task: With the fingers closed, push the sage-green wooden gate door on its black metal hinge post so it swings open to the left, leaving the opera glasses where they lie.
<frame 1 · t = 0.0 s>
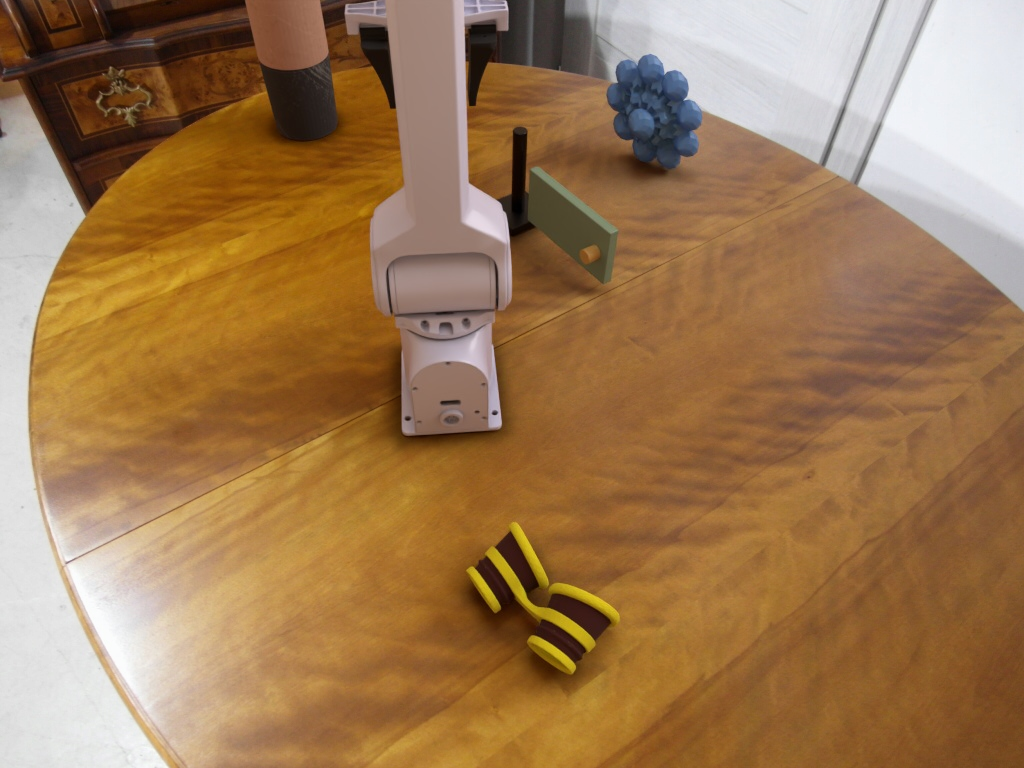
hand: (432, 102, 76), 10 cm above the table, tool pointing down, fingers open, 7 cm apart
travel mug: (307, 126, 92), on the table
opera glasses: (537, 613, 53), on the table
grapes: (640, 166, 88), on the table
gate door: (564, 227, 73), point 4 cm above the table, hinge at 0.0°
hinge post: (527, 225, 80), on the table
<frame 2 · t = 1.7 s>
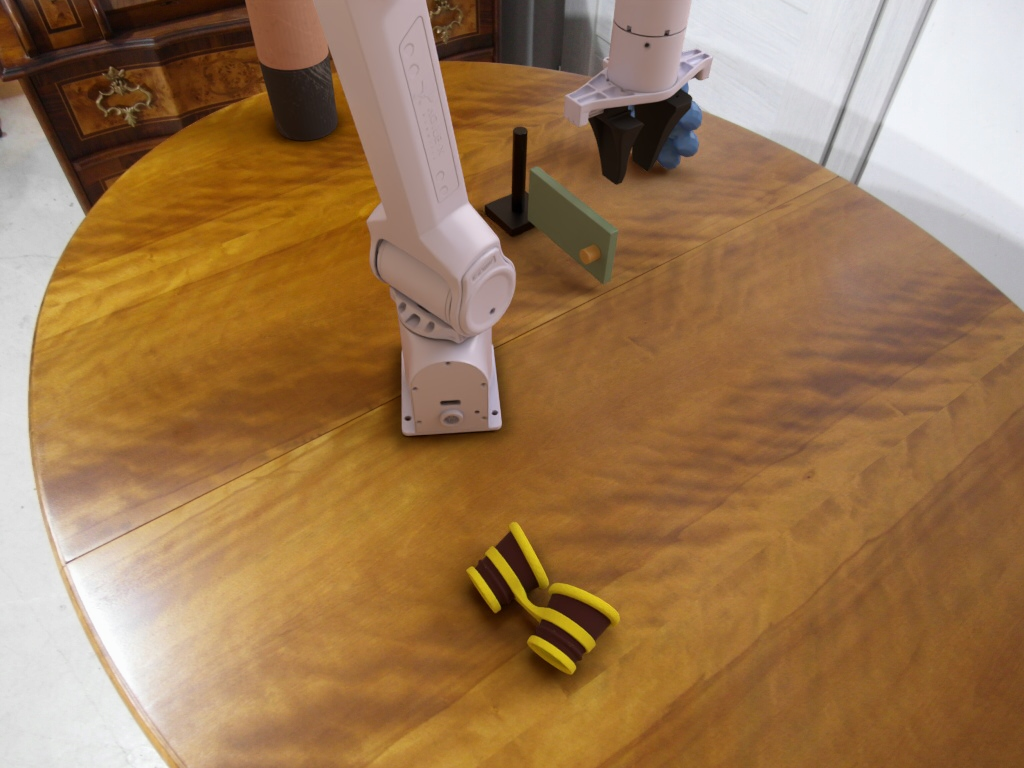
hand: (627, 172, 70), 9 cm above the table, tool pointing down, fingers open, 3 cm apart
nothing on the table moved.
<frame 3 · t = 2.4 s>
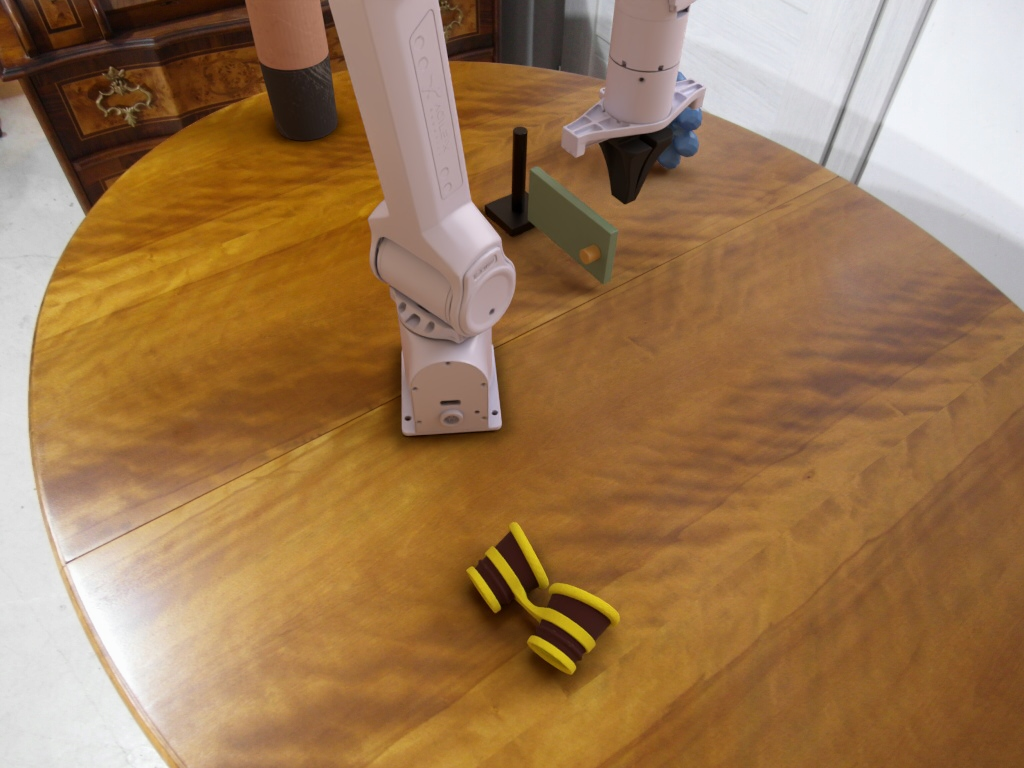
hand: (623, 197, 72), 7 cm above the table, tool pointing down, fingers closed
nothing on the table moved.
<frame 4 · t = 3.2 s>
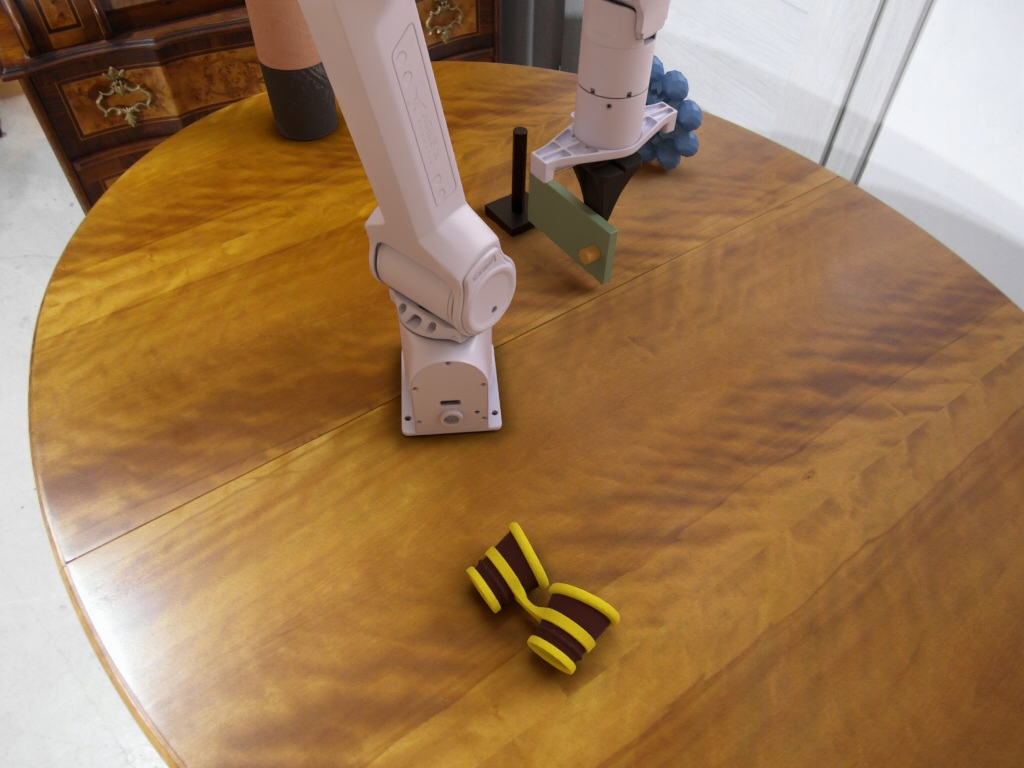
hand: (596, 219, 72), 5 cm above the table, tool pointing down, fingers closed
gate door: (563, 227, 73), point 4 cm above the table, hinge at 0.2°, touching gripper
everything else where it was.
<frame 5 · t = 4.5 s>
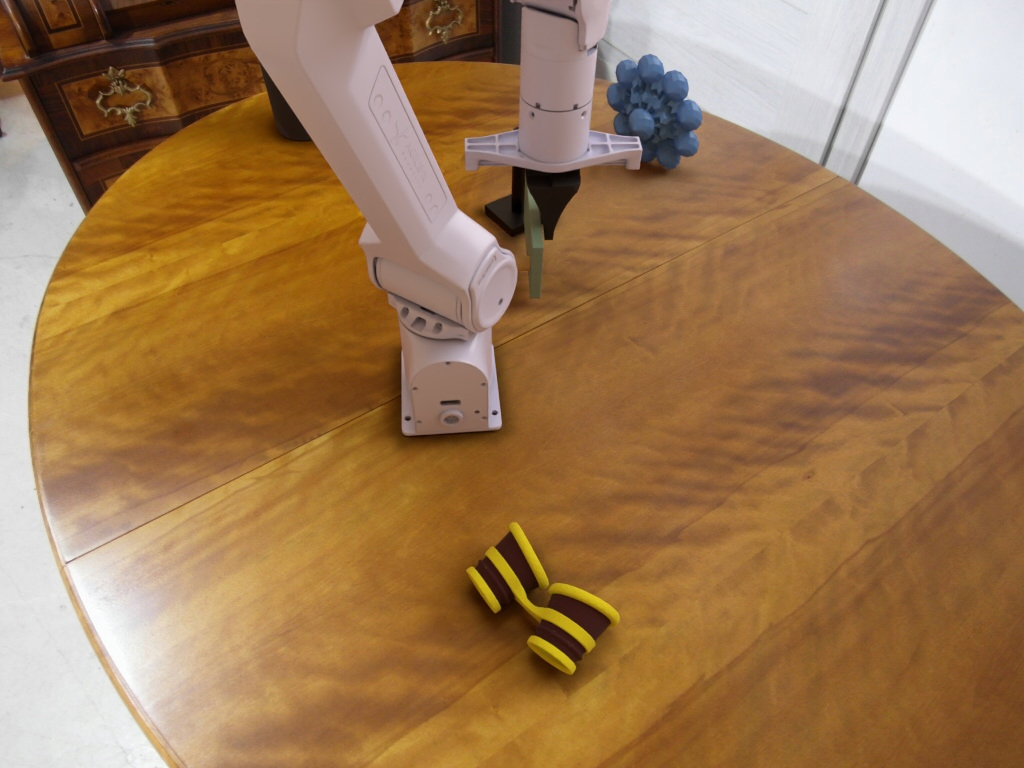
hand: (547, 233, 70), 5 cm above the table, tool pointing down, fingers closed
gate door: (525, 232, 73), point 4 cm above the table, hinge at 33.4°, touching gripper
everything else where it was.
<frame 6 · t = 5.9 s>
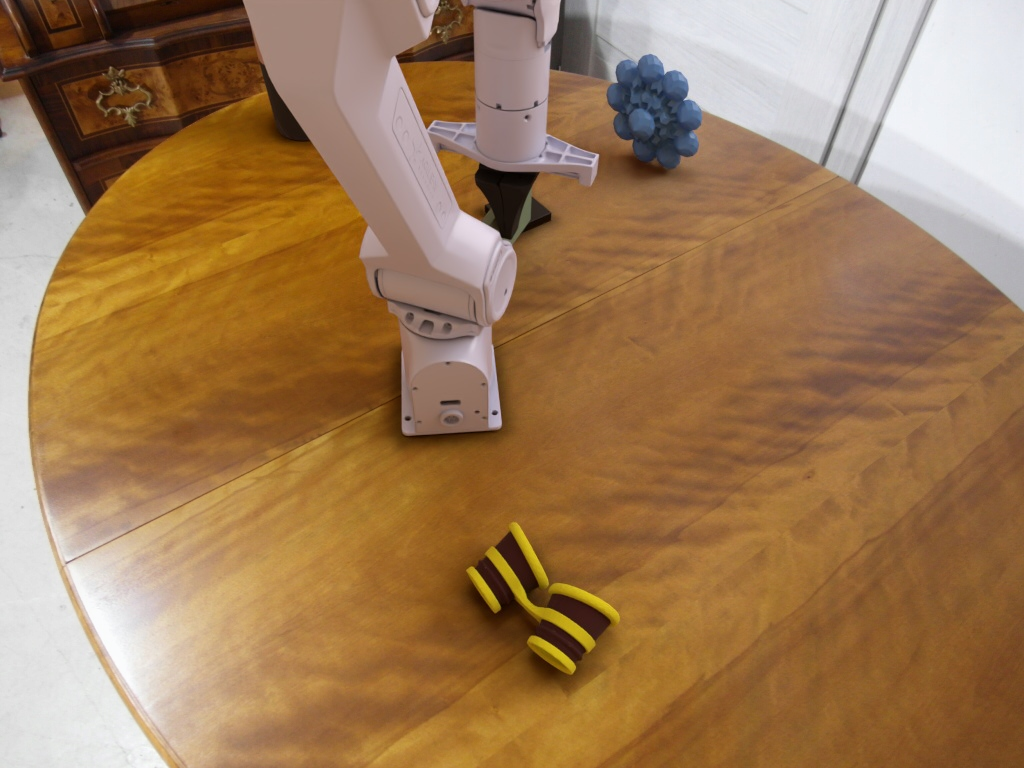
hand: (509, 232, 70), 5 cm above the table, tool pointing down, fingers closed
gate door: (495, 225, 73), point 4 cm above the table, hinge at 59.8°, touching gripper
everything else where it was.
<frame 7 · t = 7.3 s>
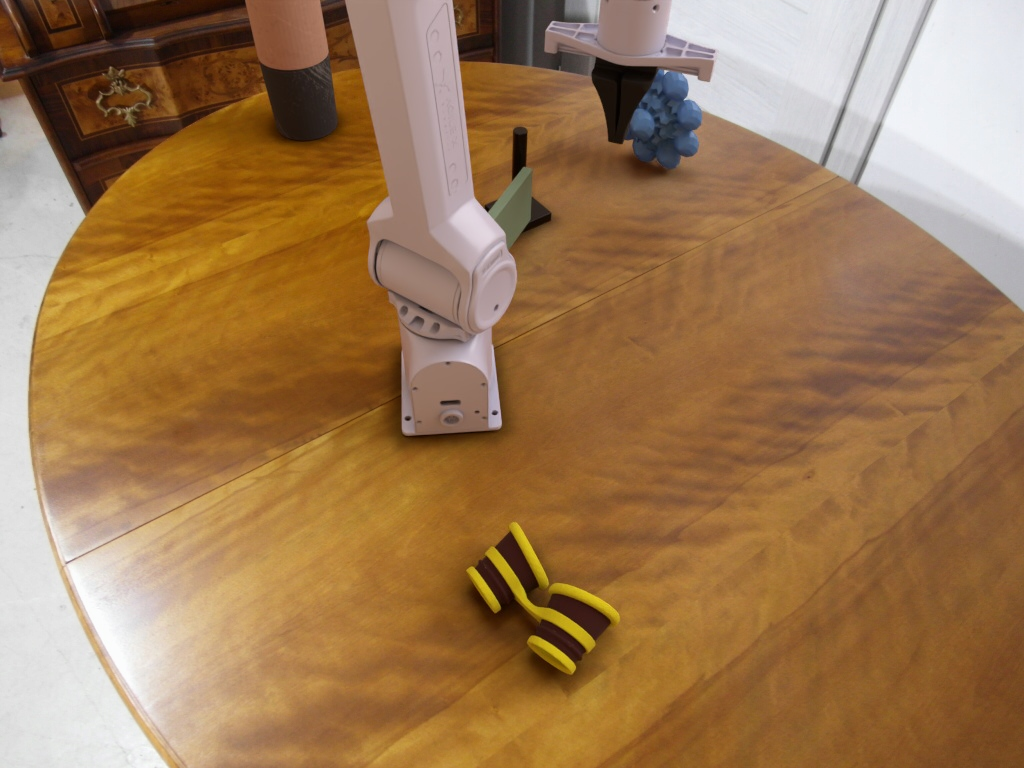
hand: (617, 137, 72), 10 cm above the table, tool pointing down, fingers closed
gate door: (495, 225, 73), point 4 cm above the table, hinge at 59.8°
everything else where it was.
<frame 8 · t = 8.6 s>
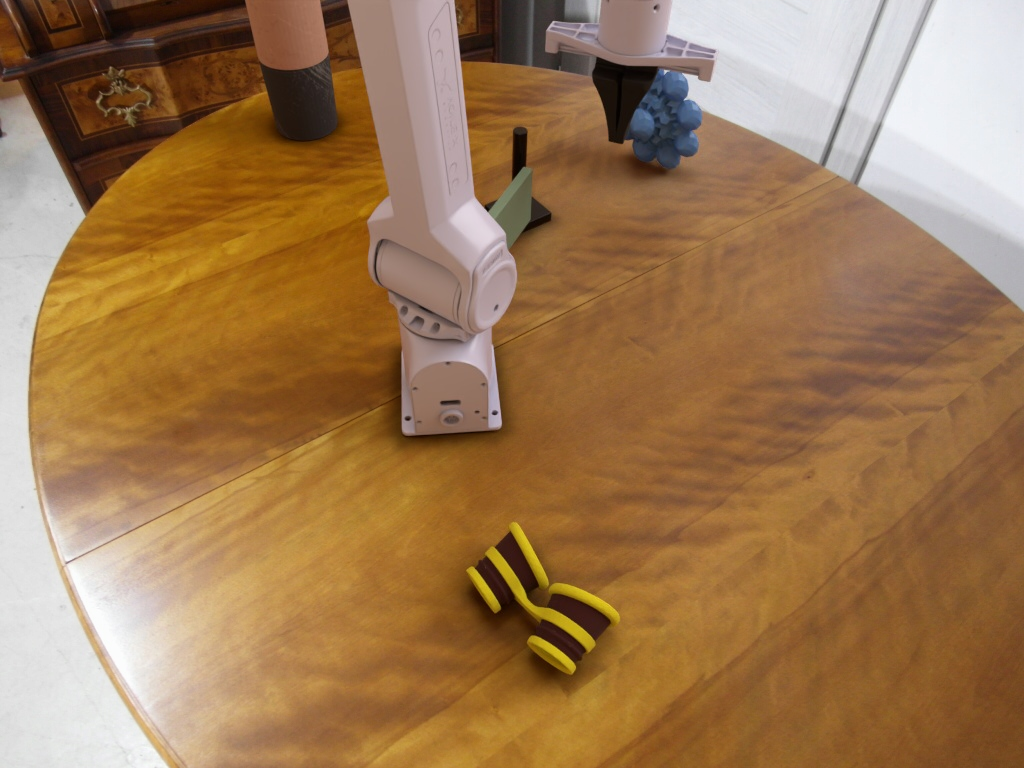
hand: (618, 137, 72), 10 cm above the table, tool pointing down, fingers closed
nothing on the table moved.
at the end: gate door at +60° (first picture: +0°); opera glasses moved 0.2 cm from its start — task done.
